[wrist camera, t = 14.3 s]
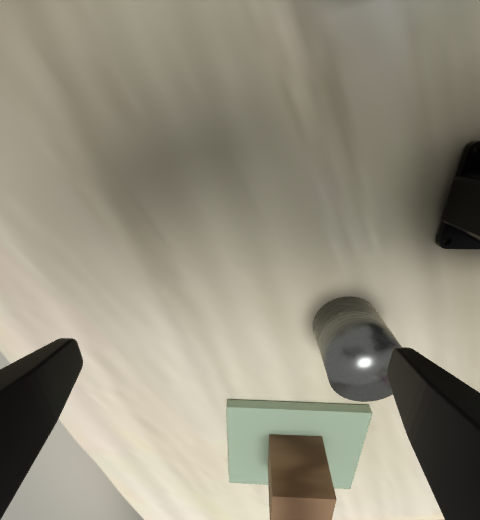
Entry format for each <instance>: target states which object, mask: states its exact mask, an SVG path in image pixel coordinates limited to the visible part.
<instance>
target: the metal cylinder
mask: <svg viewBox="0 0 480 520" xmlns="http://www.w3.org/2000/svg"><path fill="white" fill-rule="evenodd" d="M313 330H314V333H315V336H316V340H317V343H318V346H319V349H320V353H321V356H322V359H323V363H324V366H325V369H326V373H327V376H328V379H329V382H330V385H331V387H332V388H333V390H334V391H335V392H336V393H338V394H339V395H341V396H342V397H344V398H347V399H350V400H354V401H362V402H367V401H375V400H380V399H383V398H386V397H388V396H390V395H392V394H393V392H392V389H391V386H390V384H389V381H388V377H387V368H388V364H389V361H390V357H391V354H392V351H393V349H394V348H396V347H401V345H400V344H399V342H398V341H397V340H396V338H395V337H394V335H393V334H392V332H391V331H390V330H389V328H388V327H387V325H386V324H385V322H384V321H383V319H382V318H381V317H380V315H379V314H378V312H377V311H376V309H375V308H374V307H373V306H372V305H371V304H370V303H369V302H367V301H366V300H363V299H361V298H357V297H342V298H338V299H335V300H332V301H330V302H329V303H327V304H325V305H324V306H323V307H322V308H321V309H320V310H319V311H318V313H317V314H316V316H315V318H314V322H313Z"/></svg>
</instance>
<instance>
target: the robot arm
mask: <svg viewBox="0 0 480 520" xmlns="http://www.w3.org/2000/svg"><path fill="white" fill-rule="evenodd" d="M475 147H477V152H476V153H475V154H473V150H474V148H475ZM446 238H448V240H447V242H445V243H444V240H445V239H446ZM436 244H437V245H438V246H440V247H441V248H444V249H480V141H473V142H471V143H469V144H468V145H467V146H466V147H465V149H464V151H463V154H462V158H461V161H460V164H459V167H458V170H457V174H456V177H455V179H454V180H453V183H452V186H451V190H450V193H449V196H448V199H447V202H446V206H445V209H444V212H443V215H442V222H441V225H440V228H439V232H438V235H437V238H436ZM82 366H83V359H82V356H81V352H80V349H79V346H78V343H77V341H76V340H75V339H72V338H60V339H57V340H55V341H54V342H52V343H50V344H48V345H46V346H44V347H42V348H40V349H38V350H36V351H35V352H33V353H31V354H29V355H27V356H25V357H23V358H21V359H19V360H17V361H16V362H14V363H12V364H10V365H8V366H6V367H4V368H2V369H0V519H1V518H2V516H3V514H4V513H5V511H6V509H7V508H8V506H9V504H10V502H11V501H12V499H13V497H14V495H15V494H16V492H17V490H18V488H19V487H20V485H21V483H22V482H23V480H24V478H25V476H26V475H27V473H28V471H29V469H30V468H31V466H32V464H33V462H34V461H35V459H36V457H37V456H38V454H39V452H40V450H41V449H42V447H43V445H44V443H45V441H46V440H47V438H48V436H49V435H50V433H51V431H52V429H53V427H54V426H55V424H56V422H57V420H58V418H59V416H60V414H61V412H62V410H63V408H64V406H65V404H66V401H67V399H68V397H69V395H70V393H71V391H72V388H73V386H74V384H75V382H76V380H77V378H78V376H79V373H80V371H81V369H82ZM387 377H388V381H389V384H390V386H391V389H392V392H393V395H394V398H395V401H396V404H397V407H398V410H399V413H400V416H401V419H402V422H403V425H404V428H405V430H406V433H407V436H408V438H409V440H410V443H411V445H412V447H413V450H414V452H415V454H416V456H417V458H418V461H419V463H420V465H421V467H422V469H423V472H424V474H425V476H426V478H427V481H428V483H429V485H430V487H431V489H432V492H433V494H434V496H435V498H436V501H437V503H438V505H439V507H440V509H441V512H442V514H443V516H444V518H445V520H480V393H479V392H478V391H476V390H475V389H473V388H471V387H470V386H468V385H467V384H465V383H464V382H462V381H461V380H459V379H458V378H456V377H455V376H453V375H452V374H450V373H449V372H447V371H445V370H444V369H442V368H441V367H439V366H438V365H436V364H435V363H433V362H432V361H430V360H429V359H427V358H426V357H424V356H423V355H421V354H419V353H418V352H416V351H415V350H413V349H411V348H404V347H396V348H394V349H393V351H392V354H391V357H390V361H389V364H388V368H387Z"/></svg>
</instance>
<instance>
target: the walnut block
mask: <svg viewBox="0 0 480 520" xmlns="http://www.w3.org/2000/svg"><path fill="white" fill-rule="evenodd" d="M268 484H269V509H270V520H332V516H333V511H334V507H335V503H336V496H335V491H334V487H333V482H332V478H331V474H330V469H329V465H328V460H327V456H326V451H325V447H324V442H323V438H322V436H305V435H280V434H269V450H268Z"/></svg>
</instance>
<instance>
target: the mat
mask: <svg viewBox="0 0 480 520" xmlns="http://www.w3.org/2000/svg"><path fill="white" fill-rule="evenodd" d="M371 416H372V411H371V409H370V407H369V405H354V404H329V403H304V402H279V401H255V400H230V399H228V402H227V424H228V456H229V483H244V484H263V485H269V484H268V450H269V434H280V435H305V436H322V438H323V442H324V447H325V451H326V456H327V460H328V465H329V469H330V474H331V478H332V482H333V487H334V488H338V489H350V488H351V485H352V481H353V478H354V474H355V471H356V468H357V464H358V461H359V457H360V454H361V450H362V447H363V443H364V440H365V437H366V433H367V430H368V426H369V423H370V419H371Z"/></svg>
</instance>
